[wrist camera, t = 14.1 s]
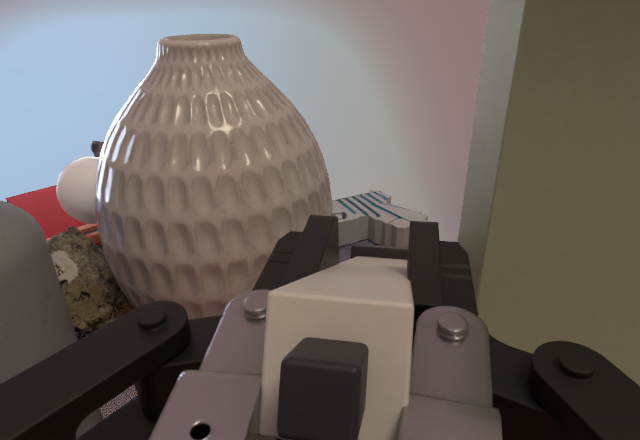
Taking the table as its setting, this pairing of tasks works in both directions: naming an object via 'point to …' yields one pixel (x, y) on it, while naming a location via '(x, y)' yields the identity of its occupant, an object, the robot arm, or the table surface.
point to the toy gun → (373, 219)
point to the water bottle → (30, 300)
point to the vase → (203, 177)
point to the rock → (86, 281)
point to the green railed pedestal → (558, 177)
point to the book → (46, 211)
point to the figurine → (79, 189)
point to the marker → (340, 350)
